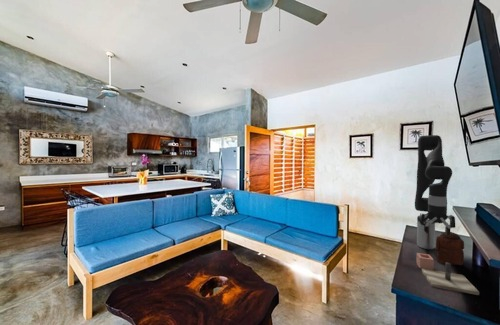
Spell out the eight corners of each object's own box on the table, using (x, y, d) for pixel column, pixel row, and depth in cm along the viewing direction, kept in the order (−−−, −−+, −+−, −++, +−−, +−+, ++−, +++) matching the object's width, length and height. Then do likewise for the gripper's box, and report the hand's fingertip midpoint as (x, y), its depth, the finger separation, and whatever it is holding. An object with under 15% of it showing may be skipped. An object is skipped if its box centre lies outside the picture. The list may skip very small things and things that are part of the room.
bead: (416, 262, 123) (416, 252, 123) (429, 264, 121) (429, 254, 120) (419, 268, 117) (420, 257, 117) (433, 270, 115) (433, 259, 115)
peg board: (421, 271, 115) (422, 254, 114) (462, 277, 108) (463, 259, 107) (431, 286, 102) (432, 267, 101) (479, 295, 95) (479, 274, 95)
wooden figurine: (456, 260, 124) (457, 230, 123) (465, 266, 118) (466, 235, 117) (433, 258, 127) (433, 229, 126) (440, 264, 121) (440, 233, 120)
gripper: (451, 202, 112) (450, 232, 113) (418, 201, 117) (417, 229, 118) (458, 206, 105) (457, 238, 106) (423, 204, 110) (422, 234, 112)
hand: (436, 233), depth 112 cm, fingers open, 8 cm apart
